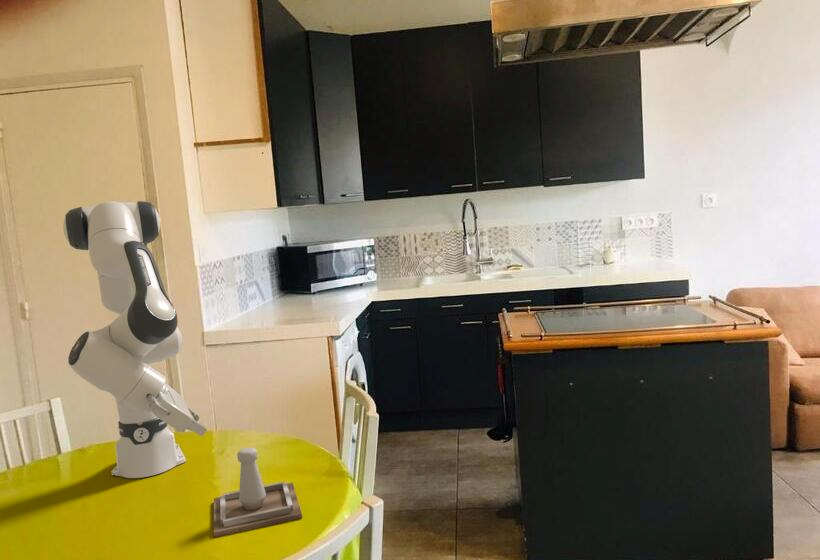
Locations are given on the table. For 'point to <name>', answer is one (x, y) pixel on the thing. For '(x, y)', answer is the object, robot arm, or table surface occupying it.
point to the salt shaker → (250, 480)
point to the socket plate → (273, 511)
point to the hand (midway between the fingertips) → (200, 425)
